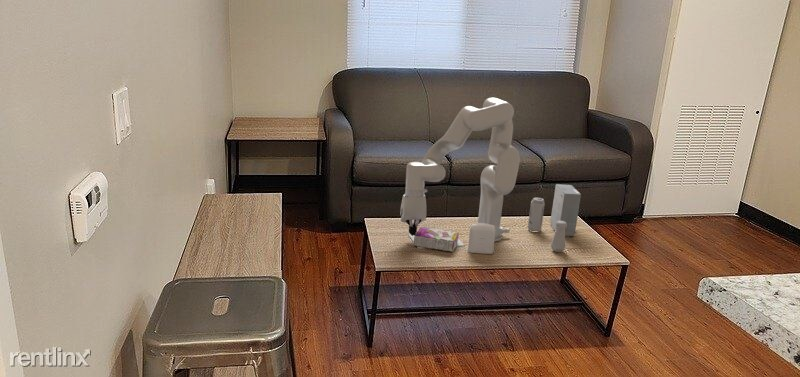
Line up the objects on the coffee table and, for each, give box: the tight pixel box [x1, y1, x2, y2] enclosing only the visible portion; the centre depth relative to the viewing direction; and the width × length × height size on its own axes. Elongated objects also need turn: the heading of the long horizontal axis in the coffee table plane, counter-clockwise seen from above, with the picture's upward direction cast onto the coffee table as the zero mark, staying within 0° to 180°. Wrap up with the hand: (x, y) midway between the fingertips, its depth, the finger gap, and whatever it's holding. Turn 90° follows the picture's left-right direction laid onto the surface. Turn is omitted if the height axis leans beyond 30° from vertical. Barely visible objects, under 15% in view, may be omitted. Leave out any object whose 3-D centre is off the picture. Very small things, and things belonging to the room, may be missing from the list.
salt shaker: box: [550, 221, 567, 253], centre depth 234 cm, size 6×6×13 cm
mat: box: [407, 233, 466, 250], centre depth 239 cm, size 20×15×1 cm
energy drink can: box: [527, 196, 546, 232], centre depth 255 cm, size 6×6×15 cm
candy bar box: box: [413, 226, 460, 253], centre depth 233 cm, size 11×5×16 cm
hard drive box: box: [549, 183, 582, 237], centre depth 256 cm, size 16×8×20 cm, turn 179°
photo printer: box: [467, 222, 495, 255], centre depth 228 cm, size 10×4×12 cm, turn 87°
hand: (412, 234), depth 236 cm, fingers closed
